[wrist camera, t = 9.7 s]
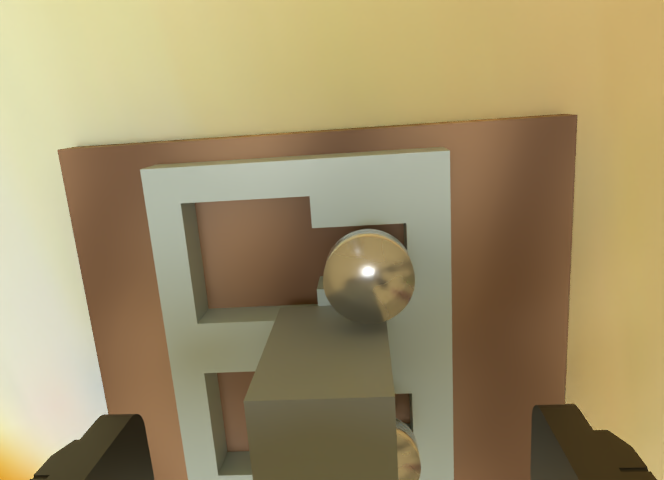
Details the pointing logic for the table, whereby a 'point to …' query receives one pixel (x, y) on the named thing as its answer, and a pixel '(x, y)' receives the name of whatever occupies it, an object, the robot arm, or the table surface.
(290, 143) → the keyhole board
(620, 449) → the robot arm
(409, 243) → the slotted plate
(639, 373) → the table surface
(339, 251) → the keyhole posts
